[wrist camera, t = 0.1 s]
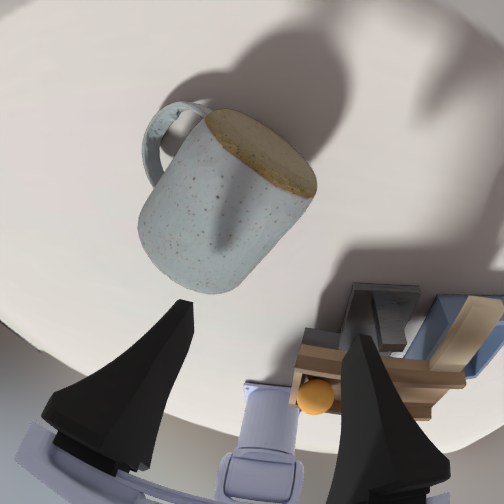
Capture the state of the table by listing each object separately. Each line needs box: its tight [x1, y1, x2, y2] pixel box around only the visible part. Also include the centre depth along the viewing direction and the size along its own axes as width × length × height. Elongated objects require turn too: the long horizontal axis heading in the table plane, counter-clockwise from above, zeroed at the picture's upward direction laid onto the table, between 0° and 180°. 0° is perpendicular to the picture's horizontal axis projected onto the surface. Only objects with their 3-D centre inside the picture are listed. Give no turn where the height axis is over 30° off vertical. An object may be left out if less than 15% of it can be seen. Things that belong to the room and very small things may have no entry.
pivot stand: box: [339, 283, 421, 357], centre depth 23 cm, size 12×6×5 cm, turn 2°
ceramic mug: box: [137, 101, 317, 294], centre depth 15 cm, size 11×8×8 cm
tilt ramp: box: [288, 295, 504, 421], centre depth 19 cm, size 14×14×5 cm
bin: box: [403, 294, 504, 379], centre depth 22 cm, size 10×10×4 cm
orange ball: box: [297, 379, 334, 415], centre depth 20 cm, size 3×3×3 cm
